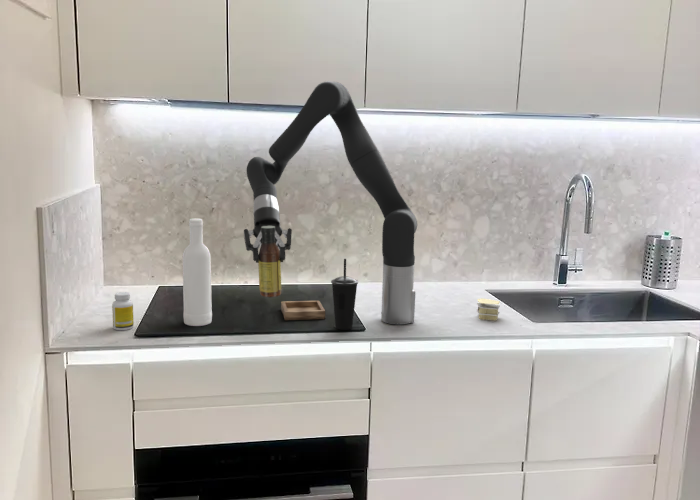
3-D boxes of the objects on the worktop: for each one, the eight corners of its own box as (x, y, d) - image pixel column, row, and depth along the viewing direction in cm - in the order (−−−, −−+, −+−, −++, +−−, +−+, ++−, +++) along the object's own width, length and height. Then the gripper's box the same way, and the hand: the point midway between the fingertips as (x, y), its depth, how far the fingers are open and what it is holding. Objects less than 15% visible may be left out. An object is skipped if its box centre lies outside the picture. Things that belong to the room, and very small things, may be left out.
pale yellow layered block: (505, 316, 195) (506, 299, 194) (501, 324, 187) (502, 306, 186) (473, 313, 199) (474, 296, 198) (468, 320, 190) (469, 303, 189)
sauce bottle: (271, 291, 183) (270, 224, 179) (286, 295, 179) (285, 226, 175) (254, 295, 178) (252, 226, 174) (269, 299, 174) (268, 228, 170)
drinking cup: (362, 329, 178) (363, 260, 174) (338, 332, 174) (339, 262, 170) (348, 322, 184) (350, 255, 181) (325, 325, 180) (326, 257, 177)
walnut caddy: (319, 308, 198) (319, 300, 198) (325, 318, 187) (325, 310, 186) (281, 309, 196) (281, 301, 196) (284, 320, 185) (285, 312, 184)
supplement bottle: (137, 328, 174) (136, 293, 172) (119, 332, 170) (117, 297, 168) (127, 323, 177) (126, 290, 176) (109, 327, 173) (107, 293, 172)
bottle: (196, 328, 175) (194, 221, 170) (177, 322, 180) (175, 219, 174) (217, 321, 182) (216, 219, 176) (199, 316, 186) (197, 216, 181)
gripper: (241, 205, 180) (243, 254, 170) (291, 205, 182) (296, 252, 173) (241, 221, 186) (243, 269, 176) (290, 221, 189) (294, 267, 179)
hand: (269, 260), depth 175 cm, fingers closed on sauce bottle, 6 cm apart
